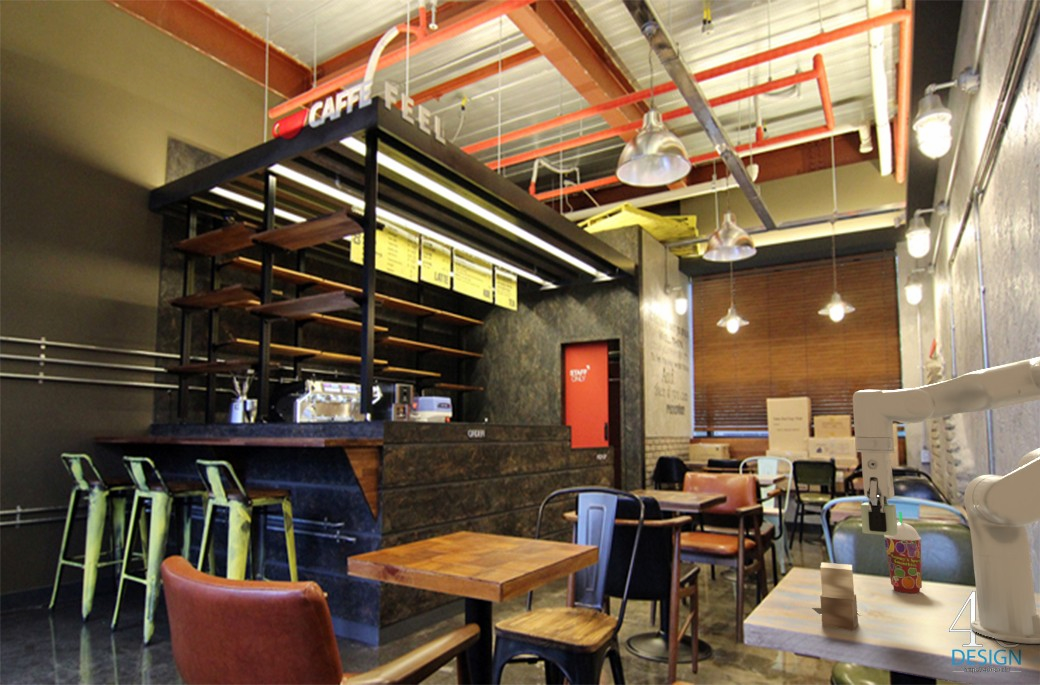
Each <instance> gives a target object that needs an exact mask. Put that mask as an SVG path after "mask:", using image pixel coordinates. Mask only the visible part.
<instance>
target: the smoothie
mask: <svg viewBox="0 0 1040 685" xmlns="http://www.w3.org/2000/svg"><path fill="white" fill-rule="evenodd" d="M898 517H899V518H898V519H899V520H898V521H899V522H898V521H897V532H898V533H897V534H896V535H895V536H890V535H883V537H884V544H885V550H886V557H887V564H888V565H887V566H888V570H889V571H888V572H889V578H890V585H892V588H893V590H894V591H895V592H899V593H902V594H903V593H904V594H912V593H913V594H919V593H921V592H920V591H921V589H922V587H923V581H922V579H923V577H922V537H921V536H920V534H919V533H918V531H917V530H916V528H914V527H913V526H912V525H911V524H908V523H906V522H903V513H902V511H898Z"/></svg>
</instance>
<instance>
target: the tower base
mask: <svg viewBox="0 0 1040 685" xmlns="http://www.w3.org/2000/svg"><path fill="white" fill-rule="evenodd" d="M857 600H858V599H857V594H856V593H854V600H849V599H839V598H830V597H822V594H821V595H820V608H821V614H820V615H821V626H823V627H828V628H835V629H842V630H848V631H855V629H856V628H857V627H856V626H858V625H859V616H858V614H857V612H858V604H857V602H858V601H857Z"/></svg>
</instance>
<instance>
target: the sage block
mask: <svg viewBox="0 0 1040 685" xmlns="http://www.w3.org/2000/svg"><path fill="white" fill-rule="evenodd" d="M896 507H897V505H896V504H894V503H893V504H891V503H888V504H884V513H886V527H887V531H886V532H878V531H870V529H869V516H868V511H869V502H863V503H861V504H860V512H861V514H860V515H861V516H860V517H861V529H862V530H861V531H862V532H861V533H862V534H867V535H877V536H878V535H880V536H884V535H890V536H895V535H896V534H897V533H898V532H897V522H898V521H897V508H896Z"/></svg>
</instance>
